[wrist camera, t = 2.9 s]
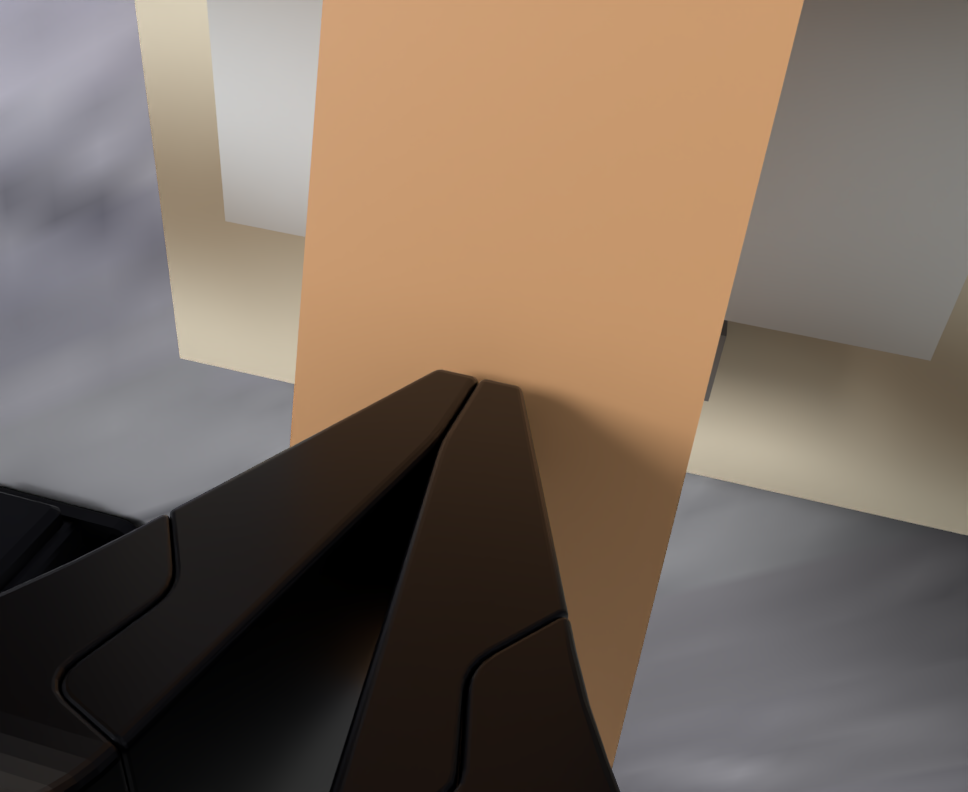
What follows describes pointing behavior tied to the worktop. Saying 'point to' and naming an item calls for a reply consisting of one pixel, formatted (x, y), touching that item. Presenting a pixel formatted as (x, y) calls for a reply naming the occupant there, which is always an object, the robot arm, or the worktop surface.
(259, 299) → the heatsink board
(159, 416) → the worktop surface
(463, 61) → the tan wooden bar
